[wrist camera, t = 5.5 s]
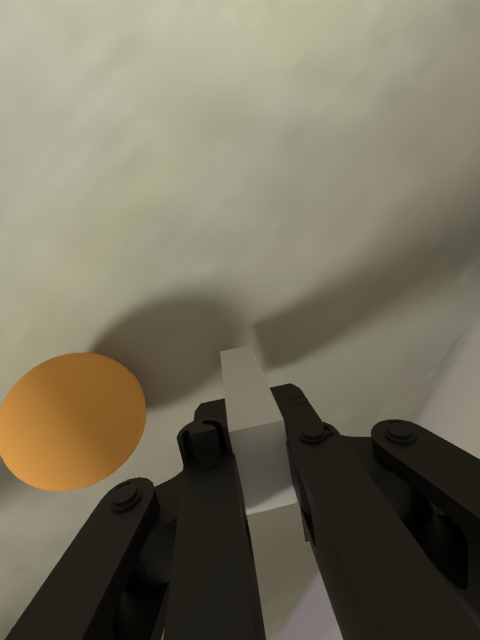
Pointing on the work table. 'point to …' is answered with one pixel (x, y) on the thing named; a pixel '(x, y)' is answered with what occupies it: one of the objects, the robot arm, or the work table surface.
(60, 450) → the ball
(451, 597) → the robot arm
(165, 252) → the work table surface
